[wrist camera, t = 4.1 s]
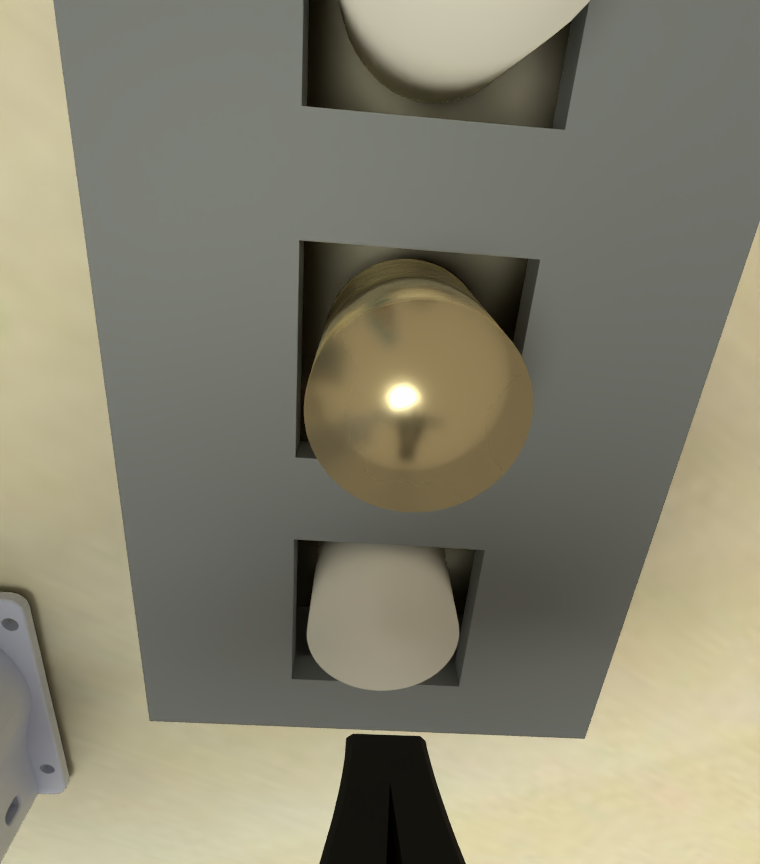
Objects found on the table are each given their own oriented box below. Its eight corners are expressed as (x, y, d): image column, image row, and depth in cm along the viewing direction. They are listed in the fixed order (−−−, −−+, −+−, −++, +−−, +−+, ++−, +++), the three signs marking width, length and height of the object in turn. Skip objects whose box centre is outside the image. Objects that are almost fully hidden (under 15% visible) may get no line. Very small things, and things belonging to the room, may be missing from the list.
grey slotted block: (546, 637, 19) (584, 738, 16) (190, 619, 19) (149, 720, 15) (773, -214, 10) (970, -405, 7) (116, -294, 10) (-20, -544, 6)
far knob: (432, 580, 18) (448, 694, 14) (319, 574, 18) (304, 687, 14) (446, 483, 17) (469, 579, 13) (323, 475, 16) (308, 571, 12)
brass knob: (471, 419, 14) (511, 518, 10) (321, 409, 13) (301, 505, 10) (495, 265, 12) (554, 309, 8) (327, 252, 12) (306, 290, 8)
